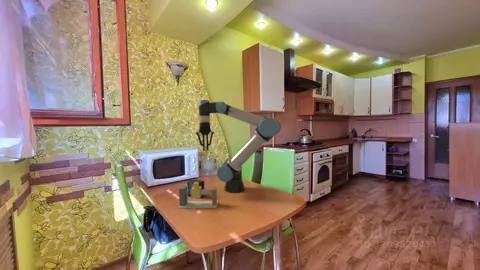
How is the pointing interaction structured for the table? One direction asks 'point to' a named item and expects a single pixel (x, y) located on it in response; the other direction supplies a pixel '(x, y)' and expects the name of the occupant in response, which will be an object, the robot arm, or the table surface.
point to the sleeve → (195, 190)
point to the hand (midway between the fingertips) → (206, 155)
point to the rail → (197, 204)
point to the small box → (191, 184)
